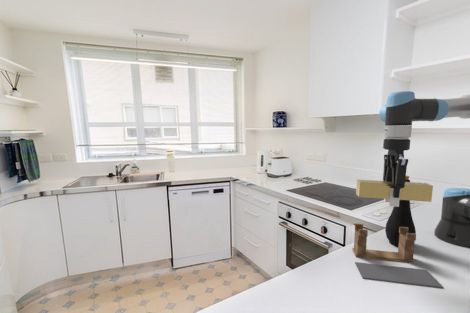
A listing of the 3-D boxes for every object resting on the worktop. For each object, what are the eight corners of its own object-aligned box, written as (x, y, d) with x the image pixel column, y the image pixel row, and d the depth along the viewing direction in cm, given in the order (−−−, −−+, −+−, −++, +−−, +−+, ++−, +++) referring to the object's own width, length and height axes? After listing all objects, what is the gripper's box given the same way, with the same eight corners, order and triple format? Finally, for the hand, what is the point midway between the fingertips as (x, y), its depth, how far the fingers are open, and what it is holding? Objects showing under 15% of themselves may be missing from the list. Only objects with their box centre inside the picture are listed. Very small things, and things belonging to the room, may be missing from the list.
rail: (424, 198, 80) (426, 183, 80) (431, 201, 77) (433, 185, 76) (356, 193, 86) (357, 179, 85) (359, 196, 82) (360, 181, 81)
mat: (426, 270, 80) (426, 269, 80) (443, 288, 71) (443, 287, 71) (354, 263, 85) (355, 262, 85) (362, 278, 77) (362, 277, 76)
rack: (406, 254, 90) (409, 227, 89) (415, 263, 84) (418, 234, 83) (351, 249, 95) (353, 223, 93) (356, 257, 89) (357, 229, 87)
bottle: (385, 235, 106) (390, 172, 102) (414, 243, 99) (421, 175, 96) (382, 245, 98) (387, 176, 94) (414, 253, 91) (421, 179, 88)
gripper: (376, 137, 88) (371, 196, 91) (394, 139, 71) (388, 211, 74) (398, 137, 86) (393, 197, 89) (423, 139, 69) (415, 213, 72)
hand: (391, 203), depth 81 cm, fingers closed on rail, 4 cm apart
